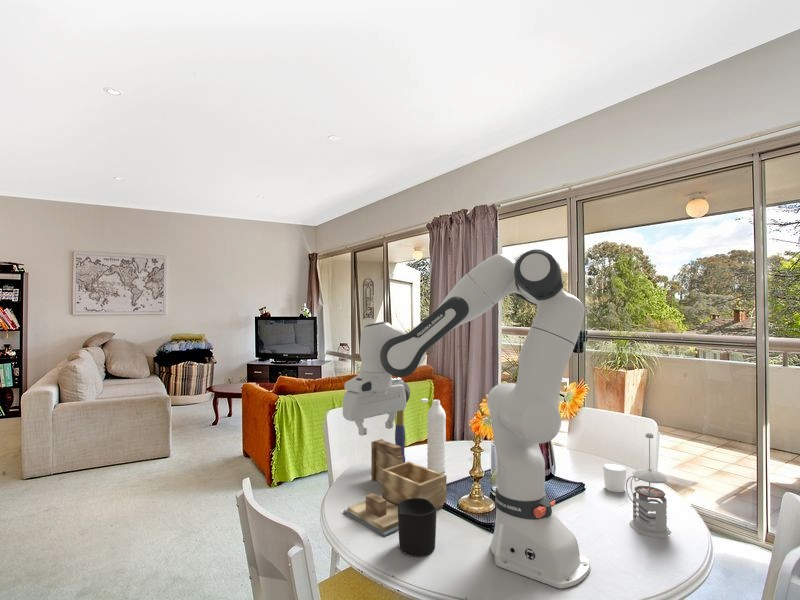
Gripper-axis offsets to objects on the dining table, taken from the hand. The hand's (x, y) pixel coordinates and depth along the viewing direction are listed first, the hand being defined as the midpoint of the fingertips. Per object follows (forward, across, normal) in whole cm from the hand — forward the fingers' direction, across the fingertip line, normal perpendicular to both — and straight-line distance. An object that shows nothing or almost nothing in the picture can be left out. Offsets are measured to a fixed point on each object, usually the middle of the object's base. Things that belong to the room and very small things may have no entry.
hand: (376, 431), depth 125 cm
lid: (+23, -1, 0) cm, 23 cm away
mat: (+24, -1, 0) cm, 24 cm away
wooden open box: (+24, -14, 0) cm, 28 cm away
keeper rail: (+24, -18, -16) cm, 34 cm away
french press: (+24, -50, +52) cm, 76 cm away
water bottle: (+24, -38, -14) cm, 47 cm away
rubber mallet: (+24, -33, -26) cm, 48 cm away
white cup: (+24, -69, +36) cm, 81 cm away
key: (+13, -18, -16) cm, 28 cm away
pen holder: (+24, +2, +18) cm, 30 cm away
